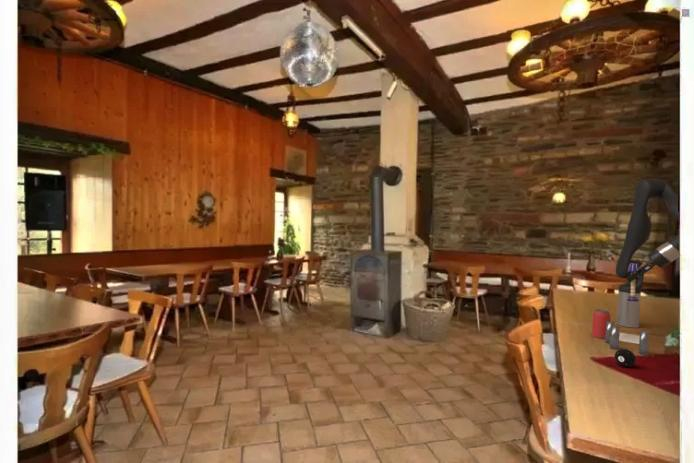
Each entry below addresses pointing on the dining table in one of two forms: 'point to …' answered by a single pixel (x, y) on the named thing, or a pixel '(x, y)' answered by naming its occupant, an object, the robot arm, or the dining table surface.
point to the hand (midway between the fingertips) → (628, 279)
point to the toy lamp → (632, 269)
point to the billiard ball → (625, 357)
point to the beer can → (600, 323)
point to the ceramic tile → (629, 338)
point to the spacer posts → (613, 338)
